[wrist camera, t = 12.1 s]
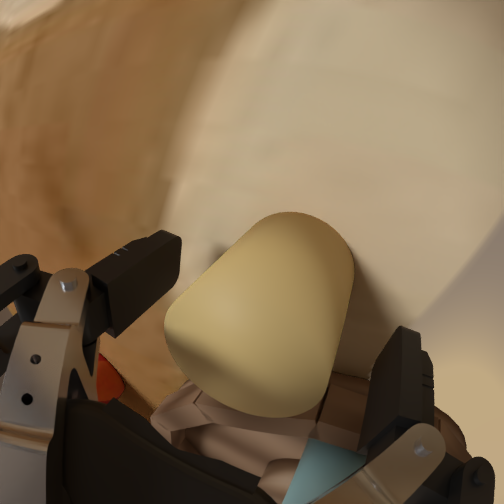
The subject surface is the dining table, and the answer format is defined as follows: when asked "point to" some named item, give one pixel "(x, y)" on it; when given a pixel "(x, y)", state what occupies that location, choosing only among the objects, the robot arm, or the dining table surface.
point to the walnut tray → (276, 430)
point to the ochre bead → (266, 317)
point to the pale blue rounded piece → (321, 470)
